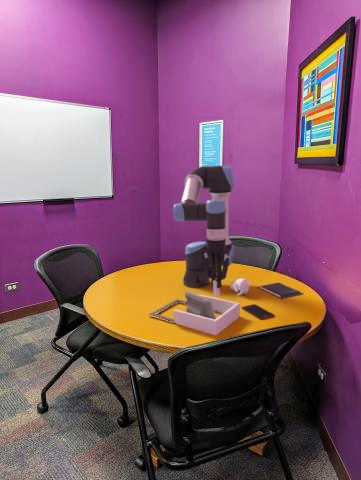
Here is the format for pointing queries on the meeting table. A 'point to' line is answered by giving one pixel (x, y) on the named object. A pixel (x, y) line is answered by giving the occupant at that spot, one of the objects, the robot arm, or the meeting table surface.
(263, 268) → the meeting table surface
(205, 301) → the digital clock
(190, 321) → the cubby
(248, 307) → the cell phone
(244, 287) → the pale pink lumpy piece
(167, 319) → the frame
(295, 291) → the wallet
